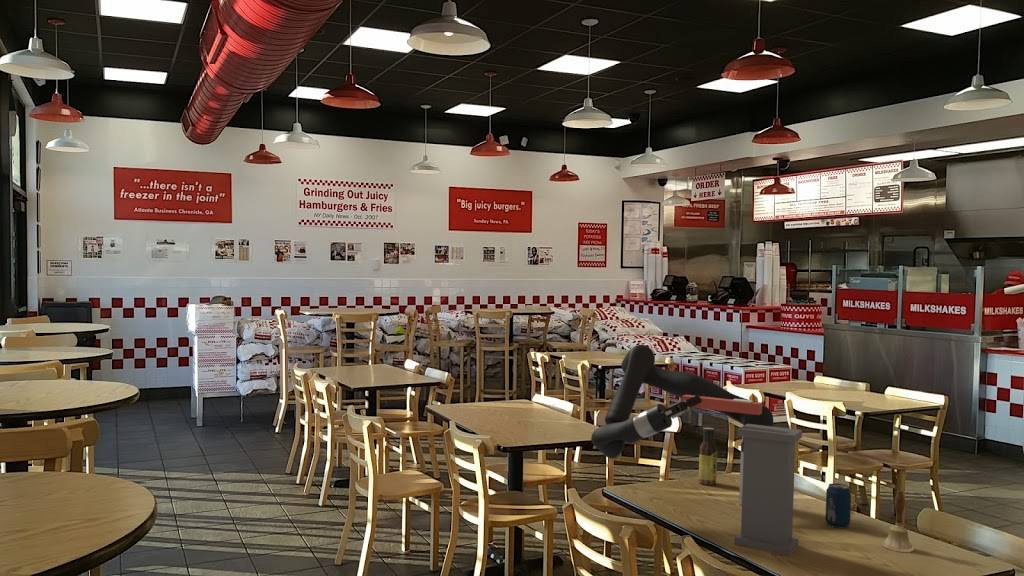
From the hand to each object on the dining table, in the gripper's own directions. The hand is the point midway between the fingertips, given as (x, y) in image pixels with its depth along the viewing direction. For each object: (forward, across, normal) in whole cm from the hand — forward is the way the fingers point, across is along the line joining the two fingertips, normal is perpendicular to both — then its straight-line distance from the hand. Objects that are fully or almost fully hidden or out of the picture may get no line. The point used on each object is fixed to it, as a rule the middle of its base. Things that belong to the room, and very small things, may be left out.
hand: (702, 397), depth 234 cm
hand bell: (+24, +20, +59) cm, 67 cm away
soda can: (+9, +32, +50) cm, 60 cm away
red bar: (+3, 0, +5) cm, 6 cm away
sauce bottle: (-33, +57, +26) cm, 71 cm away
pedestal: (-2, 0, +43) cm, 43 cm away
